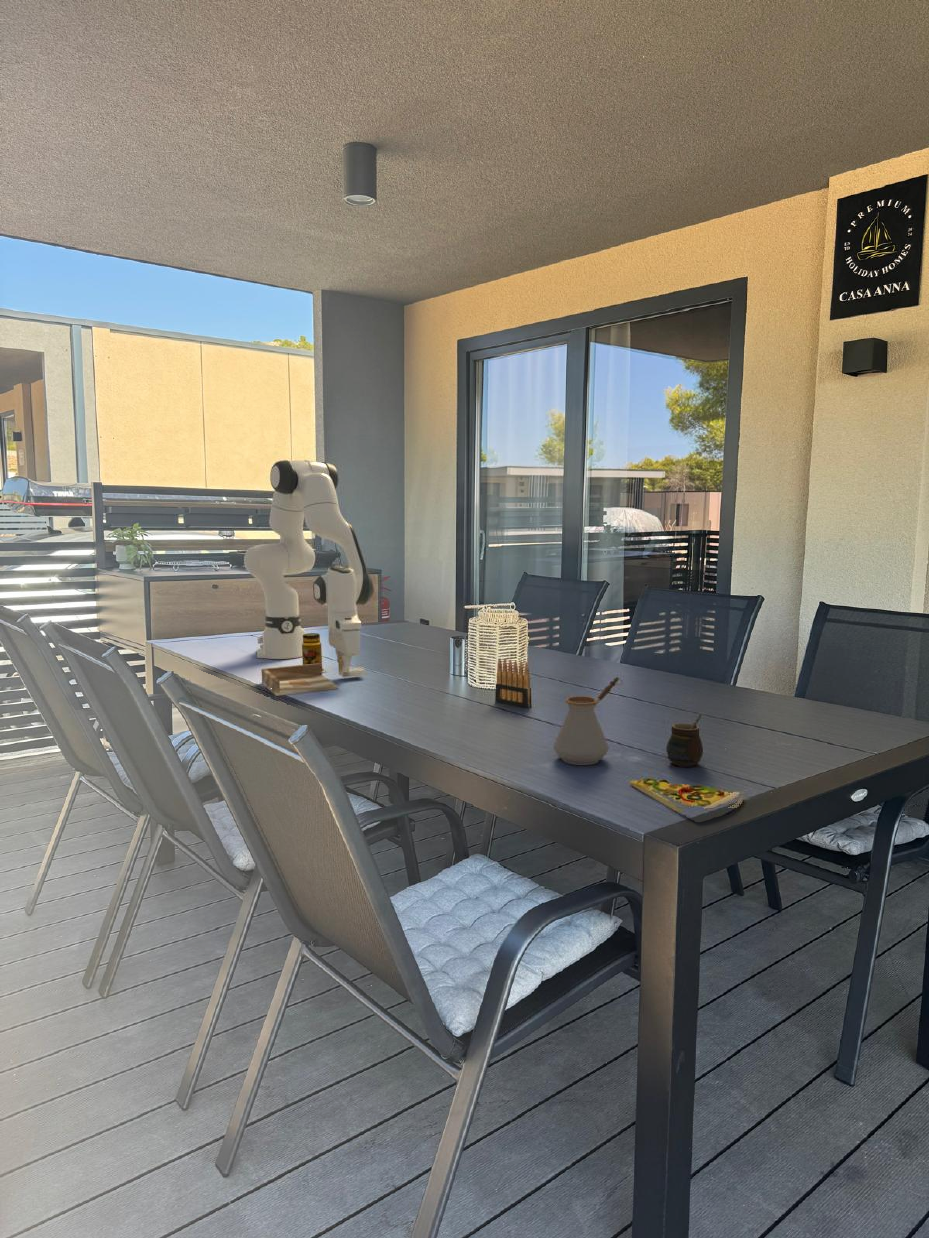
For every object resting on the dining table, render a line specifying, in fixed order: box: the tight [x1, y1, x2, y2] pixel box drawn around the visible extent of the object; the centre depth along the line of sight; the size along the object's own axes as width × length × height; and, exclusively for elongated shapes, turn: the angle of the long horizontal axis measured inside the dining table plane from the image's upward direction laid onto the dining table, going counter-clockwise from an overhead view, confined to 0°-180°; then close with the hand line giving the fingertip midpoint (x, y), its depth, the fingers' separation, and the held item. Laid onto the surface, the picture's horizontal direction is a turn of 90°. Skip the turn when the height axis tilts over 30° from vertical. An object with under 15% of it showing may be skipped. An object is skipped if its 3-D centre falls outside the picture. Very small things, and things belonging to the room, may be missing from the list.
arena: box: [260, 663, 339, 697], centre depth 247 cm, size 18×18×4 cm
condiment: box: [301, 632, 328, 673], centre depth 267 cm, size 7×8×12 cm
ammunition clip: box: [494, 657, 533, 709], centre depth 222 cm, size 11×2×12 cm, turn 51°
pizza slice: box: [630, 777, 744, 814], centre depth 154 cm, size 16×21×3 cm
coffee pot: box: [553, 676, 624, 766], centre depth 180 cm, size 21×12×15 cm, turn 140°
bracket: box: [337, 653, 366, 678], centre depth 256 cm, size 7×4×6 cm, turn 115°
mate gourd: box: [665, 713, 704, 768], centre depth 173 cm, size 7×8×10 cm
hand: (343, 665), depth 255 cm, fingers closed on bracket, 4 cm apart
